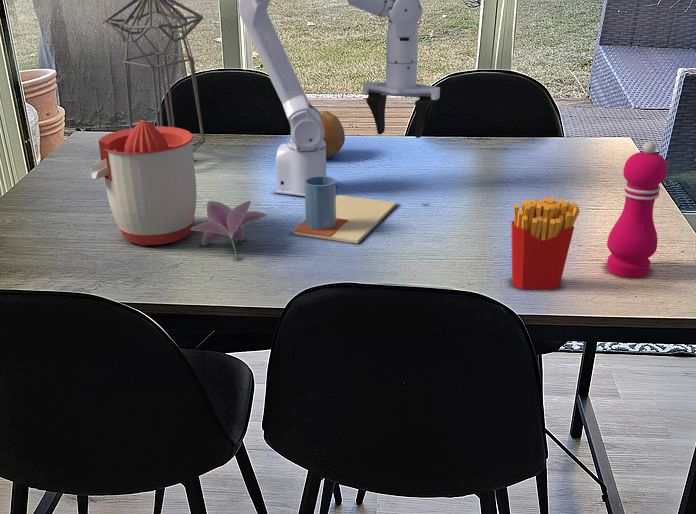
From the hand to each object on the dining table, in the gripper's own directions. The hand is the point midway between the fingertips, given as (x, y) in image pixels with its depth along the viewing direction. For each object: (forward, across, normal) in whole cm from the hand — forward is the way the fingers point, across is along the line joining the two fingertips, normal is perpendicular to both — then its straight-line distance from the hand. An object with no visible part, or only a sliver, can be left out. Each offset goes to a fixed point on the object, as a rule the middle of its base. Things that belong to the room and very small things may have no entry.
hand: (399, 134), depth 159 cm
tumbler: (+10, -6, -26) cm, 28 cm away
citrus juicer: (+11, -32, -39) cm, 52 cm away
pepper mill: (+11, +46, -25) cm, 53 cm away
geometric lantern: (+11, -52, -2) cm, 53 cm away
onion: (+11, -22, +13) cm, 28 cm away
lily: (+11, -16, -40) cm, 44 cm away
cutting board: (+10, -3, -20) cm, 23 cm away
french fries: (+11, +34, -35) cm, 50 cm away
